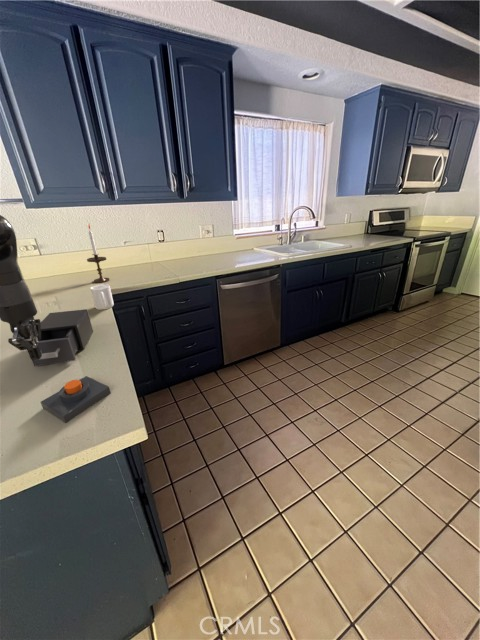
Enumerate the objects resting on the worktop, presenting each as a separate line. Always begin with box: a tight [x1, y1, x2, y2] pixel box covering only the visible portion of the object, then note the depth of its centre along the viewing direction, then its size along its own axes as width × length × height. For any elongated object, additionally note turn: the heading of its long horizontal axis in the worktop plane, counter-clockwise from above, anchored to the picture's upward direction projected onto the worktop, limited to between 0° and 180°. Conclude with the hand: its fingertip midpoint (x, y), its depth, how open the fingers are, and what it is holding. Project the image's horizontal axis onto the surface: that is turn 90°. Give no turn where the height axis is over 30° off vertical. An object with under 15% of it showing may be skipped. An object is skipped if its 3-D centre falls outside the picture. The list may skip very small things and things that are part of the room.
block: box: [40, 375, 112, 424], centre depth 68 cm, size 12×10×4 cm
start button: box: [63, 379, 82, 394], centre depth 67 cm, size 4×4×2 cm
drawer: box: [31, 327, 80, 367], centre depth 85 cm, size 18×11×8 cm, turn 15°
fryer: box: [40, 308, 94, 352], centre depth 95 cm, size 15×13×10 cm
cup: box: [89, 283, 115, 311], centre depth 125 cm, size 8×12×10 cm
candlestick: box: [86, 223, 110, 284], centre depth 163 cm, size 11×11×35 cm
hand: (36, 358), depth 73 cm, fingers closed
